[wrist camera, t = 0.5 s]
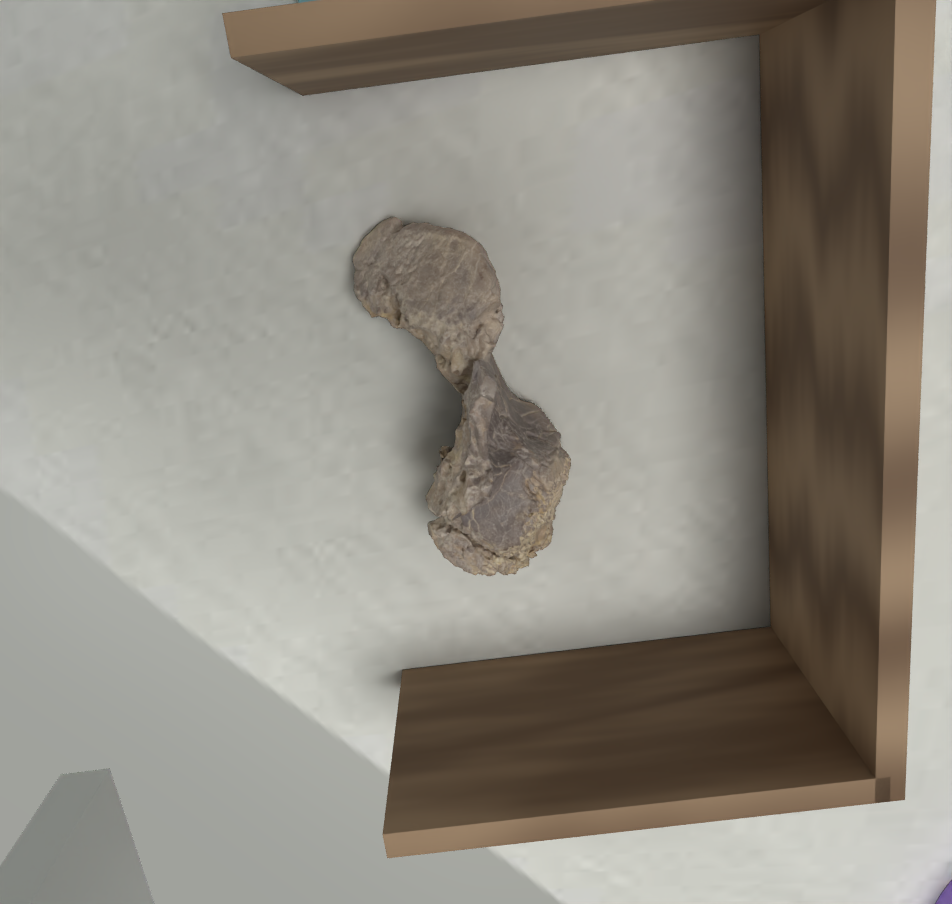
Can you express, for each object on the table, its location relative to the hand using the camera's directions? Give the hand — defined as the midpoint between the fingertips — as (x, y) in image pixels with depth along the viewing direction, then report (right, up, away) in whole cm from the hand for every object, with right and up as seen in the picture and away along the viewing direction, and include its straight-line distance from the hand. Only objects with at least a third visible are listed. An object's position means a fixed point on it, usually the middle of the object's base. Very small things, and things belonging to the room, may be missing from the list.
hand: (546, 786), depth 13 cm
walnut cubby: (+3, +8, +21) cm, 23 cm away
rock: (-2, +8, +22) cm, 23 cm away
